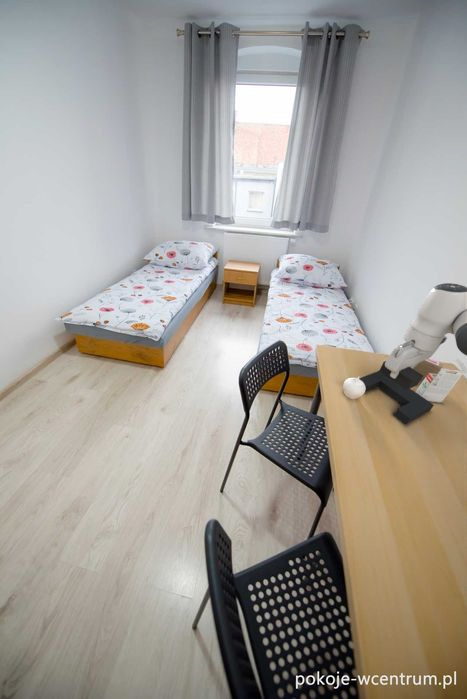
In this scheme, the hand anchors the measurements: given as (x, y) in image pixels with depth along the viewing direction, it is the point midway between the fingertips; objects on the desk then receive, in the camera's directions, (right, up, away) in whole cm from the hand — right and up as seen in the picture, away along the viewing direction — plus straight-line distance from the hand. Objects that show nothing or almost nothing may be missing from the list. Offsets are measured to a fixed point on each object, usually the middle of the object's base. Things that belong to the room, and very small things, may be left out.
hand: (400, 373), depth 88 cm
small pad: (0, -1, +1) cm, 2 cm away
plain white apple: (-13, -8, +7) cm, 17 cm away
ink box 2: (+16, -10, +10) cm, 21 cm away
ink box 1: (+19, -3, +21) cm, 28 cm away
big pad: (+2, -9, +8) cm, 12 cm away
